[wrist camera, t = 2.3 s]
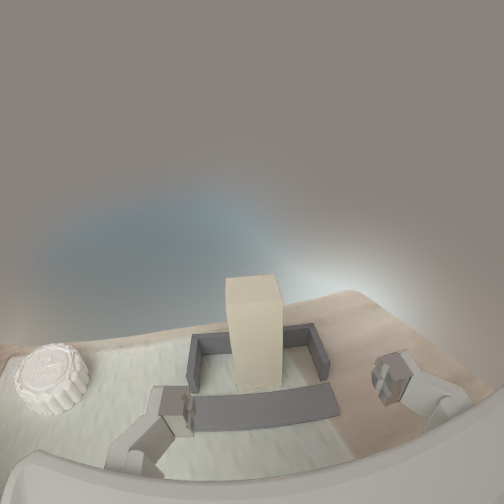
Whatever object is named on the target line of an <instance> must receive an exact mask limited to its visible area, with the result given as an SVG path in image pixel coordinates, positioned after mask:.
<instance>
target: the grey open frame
mask: <svg viewBox="0 0 504 504" xmlns="http://www.w3.org/2000/svg"><path fill="white" fill-rule="evenodd" d="M302 345H308V348H309V350H310V353H311V356H312V359H313V361H314V364H315V367H316V370H317V373H318V375H319V378H320V381H321V380H326V379H327V376H328V371H329V365H330V361H329V359H328V356H327V354H326V351H325V349H324V347H323V344H322V342H321V340H320V337H319V335H318V333H317V330H316V328H315V326H314V323H309V324H302V325H294V326H286V327H283V348H287V347H294V346H302ZM226 353H232V349H231V342H230V335H229V332H223V333H208V334H192V339H191V345H190V352H189V359H188V366H187V374H186V378H187V381H188V384H189V387H190V390H191V392H192V393H199V381H200V369H201V358H202V355H209V354H226ZM193 398H194V401H195V406H196V417H195V418H194V419H193V422H194V424H195V431H233V430H247V429H259V428H268V427H276V426H284V425H291V424H297V423H303V422H309V421H314V420H319V419H324V418H329V417H333V416H337V415H340V411H339V408H338V405H337V403H336V400H335V397H334V395H333V392H332V389H331V387H330V384H329V383H325V384H320V385H314V386H308V387H302V388H296V389H289V390H282V391H274V392H265V393H256V394H244V395H231V396H211V397H193Z"/></svg>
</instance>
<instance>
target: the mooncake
mask: <svg viewBox="0 0 504 504" xmlns="http://www.w3.org/2000/svg"><path fill="white" fill-rule="evenodd" d="M88 374H89V370H88V368H87V366H86V365H85V363H84V361H83V359H82V357H81V355H80V353H79V351H78V350H77V349H74V348H73V346H71V345H66V344H64V343H59V344H56V343H52V344H49V345H44V346H41V347H40V348H39V349H35V350H34V351H33V352H32V354H29V355H27V356H26V357H25V358H24V361H22V362H21V363H20V365H19V368H18V369H17V371H16V377H15V379H14V383H15V385H16V386H15V389H16V391H17V393H18V394H19V396H20V397H21V399H22V400H23V401H24V402H25V404H26V405H27V406H28V407H29V408H30V410H32V411H35V412H36V413H37V414H39V415H42V414H45V415H46V416H52V415H53V414H54V413H55V414H57V415H59V414H62V413H63V412H64V411H65V410H70V409H71V408H72V407H73V406H74V403H77V402H79V401H80V400H81V399H82V394H84V393H85V392H86V391H87V384H88V383H89V381H90V379H89V376H88Z"/></svg>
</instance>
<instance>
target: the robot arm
mask: <svg viewBox="0 0 504 504" xmlns="http://www.w3.org/2000/svg"><path fill="white" fill-rule="evenodd" d="M375 365H376V367H375V369H374V370H373V372H372V383H373V386H374V388H375V389H376V390H378V391H380V393H379V398H380V400H381V402H382V404H383V406H387V405H390V404H393V403H396V402H399V401H400V403H402V404H403V405H404V406H406V407H407V408H409V409H410V410H412V411H413V412H415V413H416V414H418V415H419V416H421V417H422V418H424V419H425V420H427V421H426V423H425V424H424V426H423V427H422V429H421V432H422V435H419V436H417V437H415V438H413V439H411V440H408V441H406V442H404V443H401V444H399V445H396V446H394V447H391V448H389V449H386V450H383V451H380V452H378V453H375V454H372V455H369V456H366V457H363V458H359V459H356V460H353V461H349V462H346V463H342V464H338V465H335V466H331V467H326V468H322V469H318V470H313V471H308V472H303V473H297V474H291V475H285V476H278V477H270V478H261V479H250V480H233V481H188V480H172V479H164V474H163V473H162V472H161V471H160V470H159V469H158V468H157V467H156V466H155V464H156V463H157V461H158V460H159V459H160V458H161V456H162V455H163V454H164V452H165V451H166V450H167V449H168V447H169V446H170V445H171V443H172V442H173V441H174V440H175V437H194V432H195V424H194V422H193V419H194V418H195V417H196V406H195V401H194V398H193V397H192V396H191V395H190V392H191V391H190V388H189V386H154V387H153V388H152V391H151V395H150V400H149V404H148V409H147V413H146V415H142V416H141V417H140V418H139V419H138V420H137V421H136V422H135V423H134V424H133V425H132V426H131V427H130V428H128V429H127V430H126V431H125V432H124V433H123V434H122V435H121V436H120V437H119V438H118V439H116V440H115V441H114V442H113V443H112V444H111V445H110V447H109V451H108V455H107V459H106V463H105V467H104V469H101V468H97V467H93V466H89V465H86V464H82V463H78V462H75V461H72V460H69V459H65V458H62V457H59V456H57V455H54V454H51V453H49V452H46V451H43V450H37V451H35V452H33V453H31V454H29V455H28V456H26V457H25V458H23V459H22V460H20V461H19V462H17V463H16V465H15V466H14V468H13V469H12V471H11V473H10V475H9V478H8V481H7V483H6V486H5V489H4V492H3V496H2V499H1V503H0V504H504V385H503V386H502V387H501V388H499V389H498V390H496V391H495V392H494V393H492V394H491V395H489V396H488V397H487V398H485V399H484V400H482V401H481V402H479V403H478V404H476V405H475V404H474V403H473V401H472V400H471V399H470V397H469V396H468V394H467V393H466V392H465V390H464V389H463V388H462V387H460V386H458V385H456V384H453V383H451V382H449V381H447V380H444V379H442V378H440V377H438V376H436V375H433V374H431V373H429V372H427V371H424V372H423V371H422V369H421V368H420V366H419V365H418V364H417V362H416V361H415V359H414V358H413V357H412V355H411V354H410V353H409V351H408V350H406V349H405V350H402V351H399V352H395V353H392V354H388V355H385V356H382V357H378V358H377V359H376V361H375Z"/></svg>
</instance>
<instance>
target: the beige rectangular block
mask: <svg viewBox="0 0 504 504" xmlns="http://www.w3.org/2000/svg"><path fill="white" fill-rule="evenodd" d="M225 297H226V299H225V305H226V313H227V321H228V328H229V335H230V342H231V349H232V356H233V363H234V369H235V376H236V382H237V388H238V391H241V390H253V389H263V388H272V387H280V386H282V360H283V299H282V296H281V292H280V290H279V286H278V284H277V280H276V277H275V274H269V275H257V276H245V277H234V278H226V296H225Z"/></svg>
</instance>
